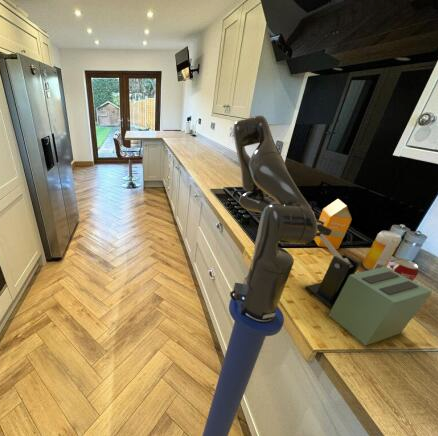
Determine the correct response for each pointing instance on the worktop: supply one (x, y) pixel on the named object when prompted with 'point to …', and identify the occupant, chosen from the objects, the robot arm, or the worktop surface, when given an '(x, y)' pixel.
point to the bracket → (333, 280)
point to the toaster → (377, 304)
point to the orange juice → (335, 223)
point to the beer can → (381, 250)
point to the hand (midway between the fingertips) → (320, 234)
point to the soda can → (404, 267)
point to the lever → (331, 247)
